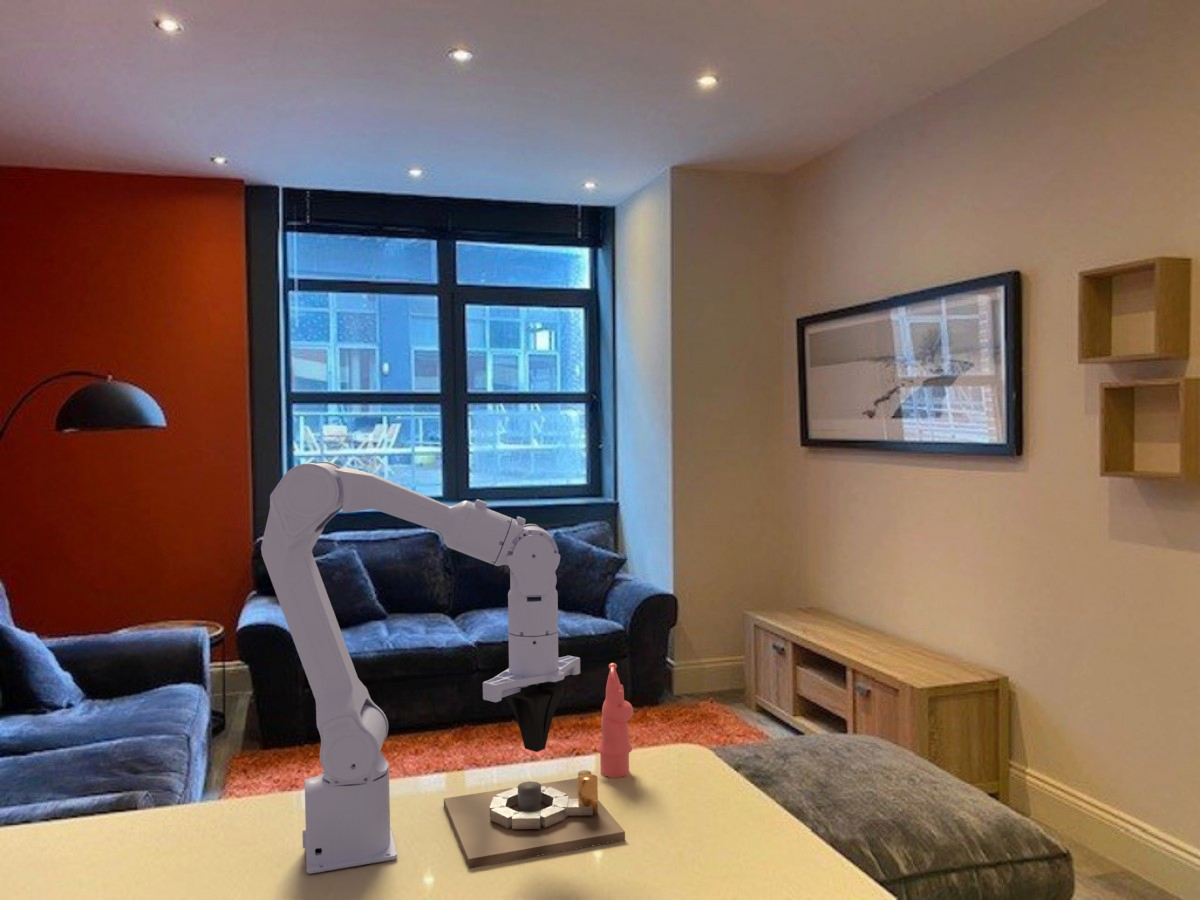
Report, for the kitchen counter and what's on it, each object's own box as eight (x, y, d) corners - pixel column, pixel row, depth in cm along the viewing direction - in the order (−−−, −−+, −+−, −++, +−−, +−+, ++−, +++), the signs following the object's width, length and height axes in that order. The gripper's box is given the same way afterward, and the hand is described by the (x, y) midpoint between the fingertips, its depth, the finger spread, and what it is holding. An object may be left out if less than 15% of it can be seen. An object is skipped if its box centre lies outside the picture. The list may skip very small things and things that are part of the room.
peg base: (468, 868, 94) (467, 822, 94) (443, 806, 110) (442, 766, 110) (625, 840, 100) (624, 796, 100) (579, 785, 116) (579, 747, 116)
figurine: (634, 779, 118) (632, 668, 117) (596, 779, 118) (594, 669, 117) (633, 765, 123) (632, 658, 122) (597, 765, 123) (595, 659, 123)
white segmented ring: (486, 829, 100) (485, 794, 100) (496, 796, 109) (496, 764, 109) (597, 827, 100) (596, 793, 100) (598, 795, 109) (598, 763, 109)
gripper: (514, 648, 92) (516, 775, 93) (599, 624, 104) (600, 738, 104) (468, 639, 97) (470, 761, 97) (554, 617, 108) (556, 726, 108)
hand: (534, 748), depth 101 cm, fingers closed
